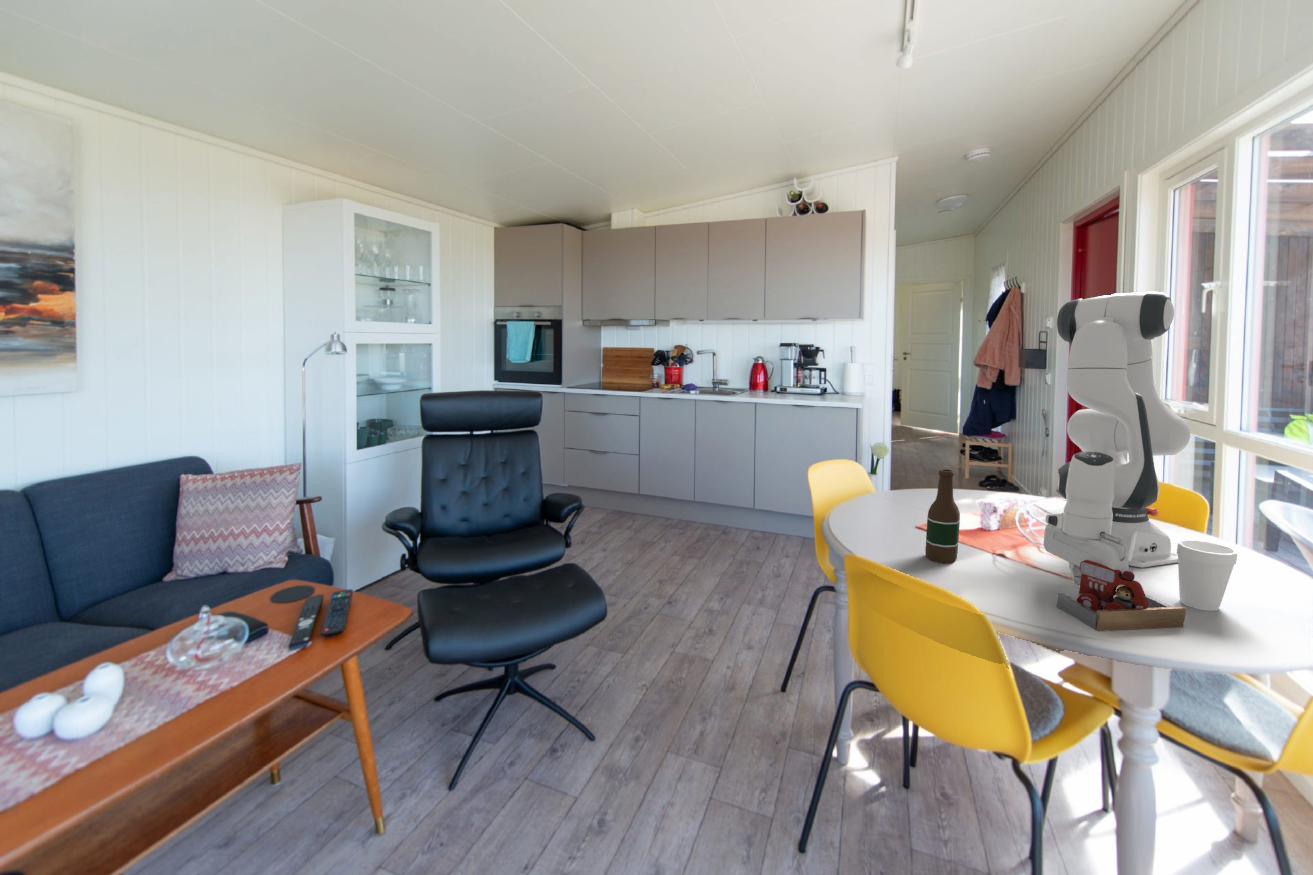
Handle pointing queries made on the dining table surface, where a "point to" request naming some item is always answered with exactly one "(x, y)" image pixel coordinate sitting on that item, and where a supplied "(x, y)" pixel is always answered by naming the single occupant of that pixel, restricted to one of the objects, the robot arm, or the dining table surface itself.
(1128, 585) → the toy fire truck
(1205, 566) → the foam cup
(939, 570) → the dining table surface
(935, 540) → the beer bottle
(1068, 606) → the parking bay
